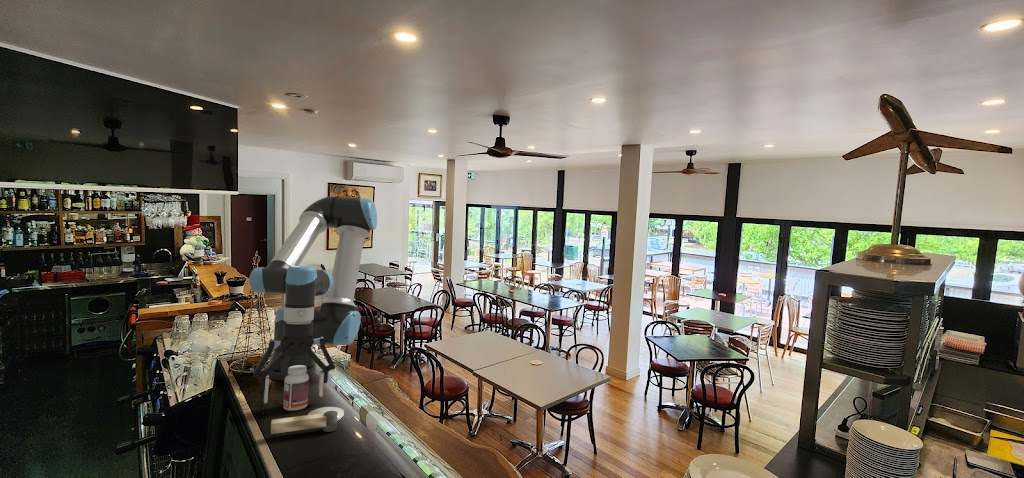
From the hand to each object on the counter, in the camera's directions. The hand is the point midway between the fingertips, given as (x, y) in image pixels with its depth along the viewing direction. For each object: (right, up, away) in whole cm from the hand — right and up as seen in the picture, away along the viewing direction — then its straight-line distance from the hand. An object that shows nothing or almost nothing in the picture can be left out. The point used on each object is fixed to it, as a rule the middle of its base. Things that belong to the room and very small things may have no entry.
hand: (293, 398), depth 119 cm
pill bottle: (0, -3, +1) cm, 3 cm away
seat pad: (+11, -3, -5) cm, 12 cm away
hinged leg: (+10, -3, -14) cm, 18 cm away
